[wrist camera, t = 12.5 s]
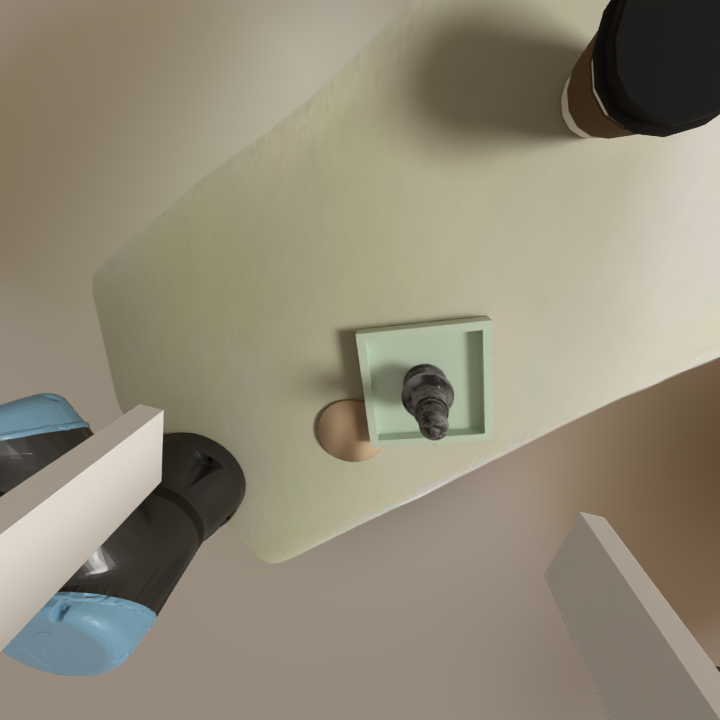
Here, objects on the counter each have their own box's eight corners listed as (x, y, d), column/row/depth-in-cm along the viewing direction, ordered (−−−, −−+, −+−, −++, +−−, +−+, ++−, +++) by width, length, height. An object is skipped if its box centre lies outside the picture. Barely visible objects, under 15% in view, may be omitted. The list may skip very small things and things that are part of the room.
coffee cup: (608, -8, 30) (735, -152, 19) (686, 89, 32) (846, 9, 21) (509, 108, 34) (567, 44, 22) (584, 190, 35) (674, 169, 24)
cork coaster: (324, 461, 49) (323, 463, 48) (313, 402, 46) (312, 404, 45) (389, 457, 48) (389, 459, 47) (382, 396, 45) (382, 398, 44)
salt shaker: (412, 412, 44) (419, 473, 33) (392, 373, 43) (392, 422, 32) (457, 394, 43) (479, 451, 32) (437, 353, 42) (454, 397, 30)
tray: (372, 439, 47) (371, 448, 45) (357, 329, 42) (355, 334, 40) (489, 431, 45) (493, 440, 43) (487, 316, 40) (492, 320, 38)
